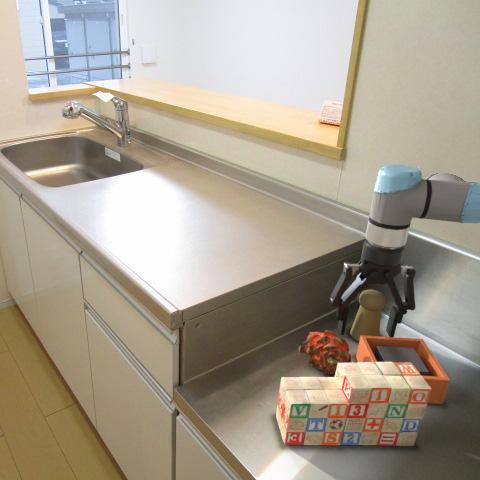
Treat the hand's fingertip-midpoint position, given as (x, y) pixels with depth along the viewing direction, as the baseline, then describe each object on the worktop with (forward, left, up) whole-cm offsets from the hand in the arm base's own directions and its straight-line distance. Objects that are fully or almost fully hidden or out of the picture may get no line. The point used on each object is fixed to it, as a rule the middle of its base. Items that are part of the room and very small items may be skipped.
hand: (365, 332), depth 100 cm
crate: (-2, +14, -1) cm, 14 cm away
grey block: (-2, +14, 0) cm, 14 cm away
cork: (0, 0, -1) cm, 1 cm away
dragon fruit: (+11, +11, -1) cm, 16 cm away
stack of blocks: (+12, +28, -1) cm, 31 cm away
